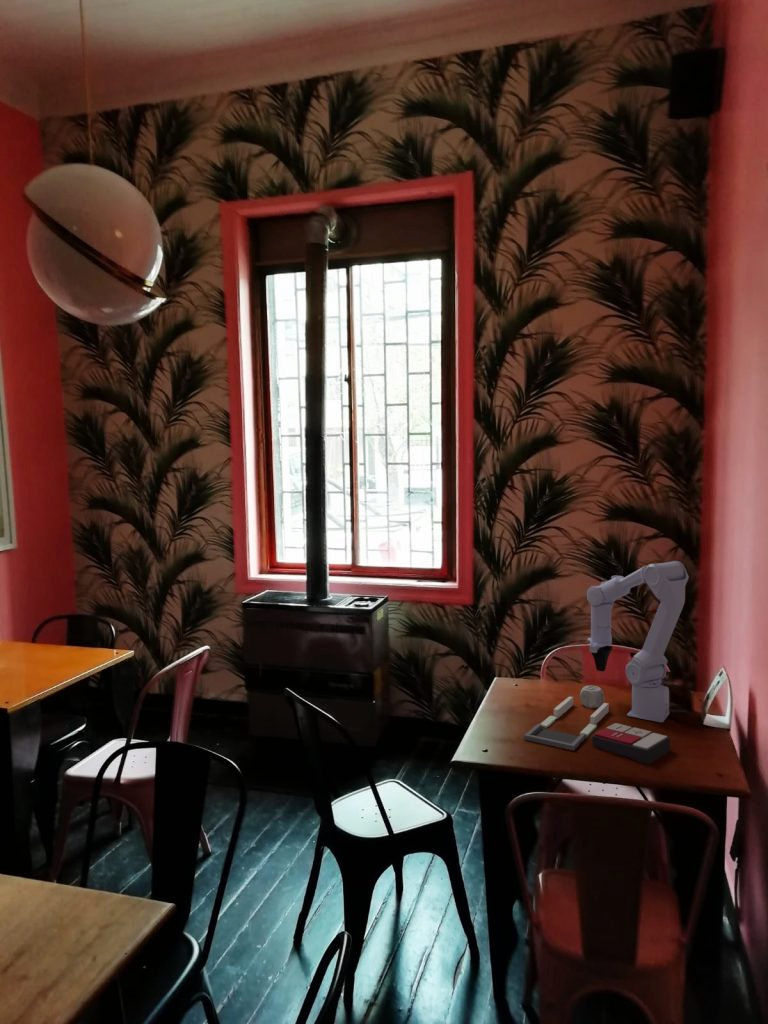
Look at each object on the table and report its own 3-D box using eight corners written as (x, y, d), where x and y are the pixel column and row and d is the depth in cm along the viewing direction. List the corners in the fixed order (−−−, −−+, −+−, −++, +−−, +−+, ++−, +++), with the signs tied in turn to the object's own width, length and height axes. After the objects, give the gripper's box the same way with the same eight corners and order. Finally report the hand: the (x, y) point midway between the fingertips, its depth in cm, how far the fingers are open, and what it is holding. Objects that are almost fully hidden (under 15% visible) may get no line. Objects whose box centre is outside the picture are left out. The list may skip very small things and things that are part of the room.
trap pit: (586, 738, 182) (586, 733, 182) (573, 750, 175) (573, 746, 175) (538, 727, 189) (538, 723, 189) (524, 739, 182) (524, 735, 182)
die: (579, 705, 206) (579, 688, 205) (589, 700, 209) (588, 684, 208) (595, 709, 202) (595, 692, 201) (604, 704, 205) (604, 688, 205)
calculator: (614, 721, 185) (670, 734, 173) (615, 737, 185) (671, 751, 174) (591, 732, 177) (647, 747, 166) (591, 749, 177) (648, 765, 166)
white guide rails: (608, 711, 200) (608, 703, 199) (594, 725, 190) (594, 717, 190) (569, 704, 206) (569, 696, 206) (553, 717, 196) (553, 709, 196)
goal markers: (596, 727, 189) (596, 724, 189) (587, 736, 183) (587, 734, 183) (550, 717, 196) (550, 715, 196) (539, 726, 190) (539, 724, 190)
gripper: (595, 618, 218) (595, 662, 219) (579, 629, 206) (579, 674, 208) (618, 621, 214) (618, 665, 215) (603, 632, 202) (603, 678, 204)
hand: (600, 670), depth 211 cm, fingers closed
